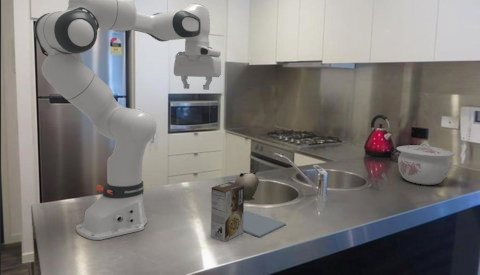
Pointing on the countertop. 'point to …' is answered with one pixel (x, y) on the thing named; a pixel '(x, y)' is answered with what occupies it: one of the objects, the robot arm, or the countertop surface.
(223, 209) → the coffee box
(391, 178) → the countertop surface
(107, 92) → the robot arm
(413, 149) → the chamber pot
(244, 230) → the mat
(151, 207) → the countertop surface
